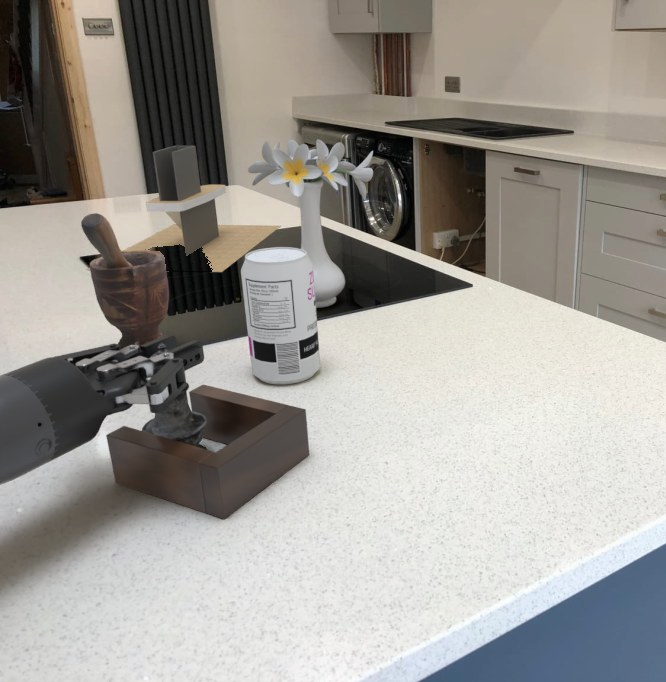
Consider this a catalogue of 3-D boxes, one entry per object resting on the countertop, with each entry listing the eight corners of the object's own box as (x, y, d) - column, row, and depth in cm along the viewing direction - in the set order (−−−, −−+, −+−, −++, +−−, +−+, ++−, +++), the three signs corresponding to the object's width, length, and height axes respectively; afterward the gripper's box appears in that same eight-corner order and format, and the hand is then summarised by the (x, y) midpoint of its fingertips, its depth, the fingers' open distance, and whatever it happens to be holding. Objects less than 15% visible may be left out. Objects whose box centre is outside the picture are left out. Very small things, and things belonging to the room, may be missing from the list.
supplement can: (241, 371, 91) (227, 253, 85) (300, 354, 96) (291, 242, 90) (271, 392, 85) (258, 268, 80) (333, 374, 90) (325, 255, 85)
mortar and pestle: (179, 373, 90) (154, 212, 83) (102, 383, 88) (70, 217, 80) (178, 341, 100) (156, 194, 93) (110, 349, 98) (82, 199, 90)
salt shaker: (134, 462, 71) (113, 346, 66) (186, 437, 75) (169, 327, 71) (173, 479, 68) (152, 359, 63) (224, 453, 72) (208, 339, 68)
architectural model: (173, 224, 169) (161, 136, 162) (281, 225, 168) (273, 136, 161) (86, 269, 134) (65, 159, 127) (221, 272, 132) (208, 160, 125)
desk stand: (115, 483, 67) (105, 434, 65) (209, 427, 77) (203, 384, 75) (224, 519, 62) (217, 468, 60) (309, 454, 72) (306, 408, 70)
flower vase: (389, 304, 115) (383, 140, 106) (272, 322, 107) (256, 147, 98) (360, 282, 126) (353, 132, 117) (252, 298, 118) (235, 138, 109)
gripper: (70, 395, 51) (239, 320, 66) (-52, 361, 57) (128, 300, 72) (90, 487, 54) (248, 396, 69) (-29, 446, 60) (141, 370, 74)
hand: (186, 347), depth 70 cm, fingers closed on salt shaker, 2 cm apart
